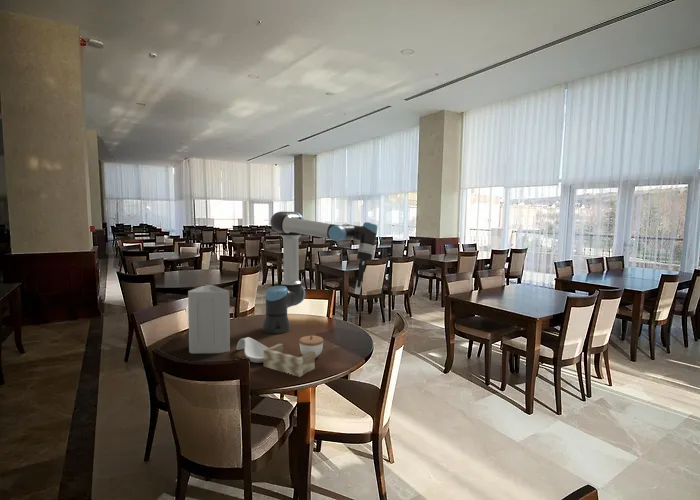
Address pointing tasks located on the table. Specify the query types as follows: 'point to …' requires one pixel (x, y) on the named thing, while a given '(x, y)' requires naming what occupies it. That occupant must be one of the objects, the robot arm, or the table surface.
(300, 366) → the open wooden box
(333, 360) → the table surface
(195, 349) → the grey triangular prism
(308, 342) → the lidded jar
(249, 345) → the spoon rest
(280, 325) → the robot arm
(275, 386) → the table surface
